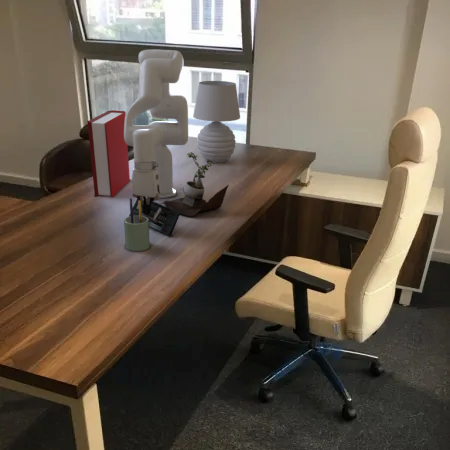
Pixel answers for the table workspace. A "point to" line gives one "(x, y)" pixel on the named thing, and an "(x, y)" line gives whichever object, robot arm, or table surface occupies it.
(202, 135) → the table lamp
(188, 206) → the potted plant
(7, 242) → the table surface
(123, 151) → the book
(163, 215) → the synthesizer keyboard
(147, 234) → the pen cup
